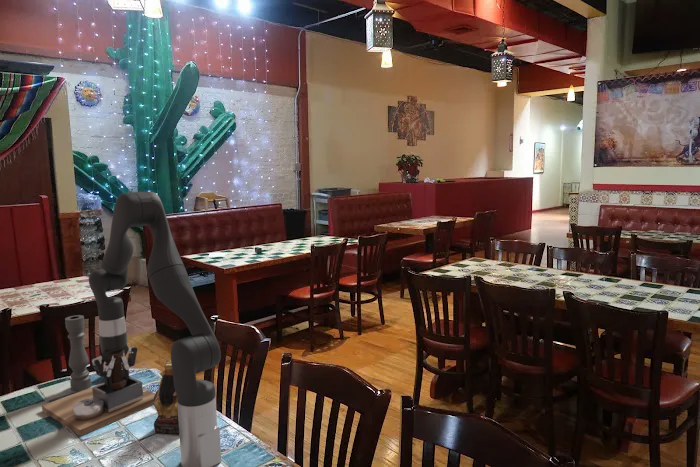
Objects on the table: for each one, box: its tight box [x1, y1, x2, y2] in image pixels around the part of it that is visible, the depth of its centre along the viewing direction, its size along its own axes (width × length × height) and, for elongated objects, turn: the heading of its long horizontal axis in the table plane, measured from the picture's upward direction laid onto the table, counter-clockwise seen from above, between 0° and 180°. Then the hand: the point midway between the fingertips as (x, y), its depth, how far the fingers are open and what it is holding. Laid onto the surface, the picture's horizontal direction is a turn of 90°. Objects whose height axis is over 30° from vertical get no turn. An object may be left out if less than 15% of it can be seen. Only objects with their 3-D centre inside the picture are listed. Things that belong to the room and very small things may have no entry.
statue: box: [153, 358, 179, 436], centre depth 138 cm, size 12×8×20 cm, turn 76°
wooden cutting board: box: [41, 382, 156, 437], centre depth 153 cm, size 25×25×2 cm
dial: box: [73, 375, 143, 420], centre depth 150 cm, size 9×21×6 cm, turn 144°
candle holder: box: [64, 314, 92, 393], centre depth 165 cm, size 6×6×25 cm
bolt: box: [108, 350, 126, 392], centre depth 151 cm, size 6×5×15 cm
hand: (117, 383), depth 151 cm, fingers closed on bolt, 4 cm apart
